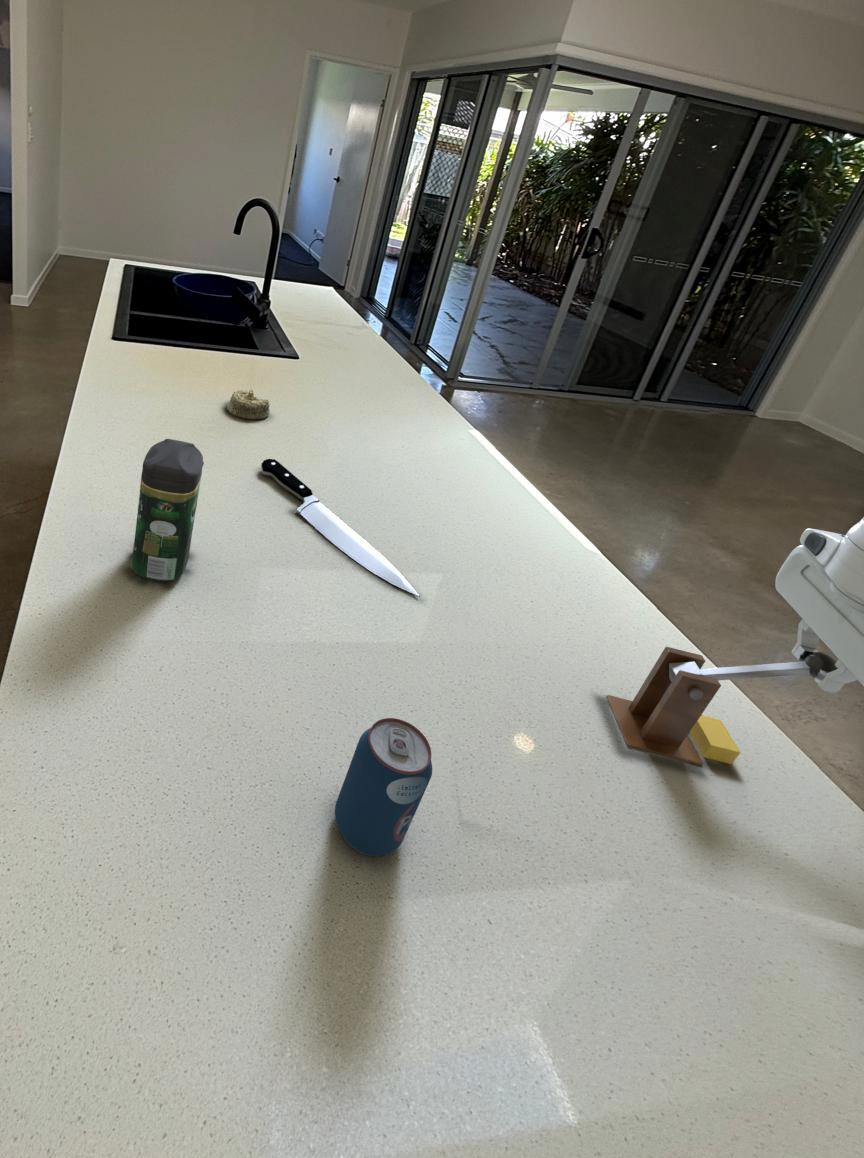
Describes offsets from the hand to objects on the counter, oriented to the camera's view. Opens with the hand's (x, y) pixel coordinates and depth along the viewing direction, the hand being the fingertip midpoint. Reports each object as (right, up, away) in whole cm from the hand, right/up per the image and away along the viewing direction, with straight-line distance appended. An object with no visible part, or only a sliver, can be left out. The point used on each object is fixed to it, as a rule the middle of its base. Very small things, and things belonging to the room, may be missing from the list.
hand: (812, 672), depth 75 cm
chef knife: (-52, +12, +38) cm, 65 cm away
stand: (-15, -10, +7) cm, 19 cm away
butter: (-8, -12, +7) cm, 16 cm away
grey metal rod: (-6, -2, +2) cm, 6 cm away
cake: (-67, +34, +75) cm, 106 cm away
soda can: (-53, -11, -11) cm, 56 cm away
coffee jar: (-78, +9, +19) cm, 81 cm away
